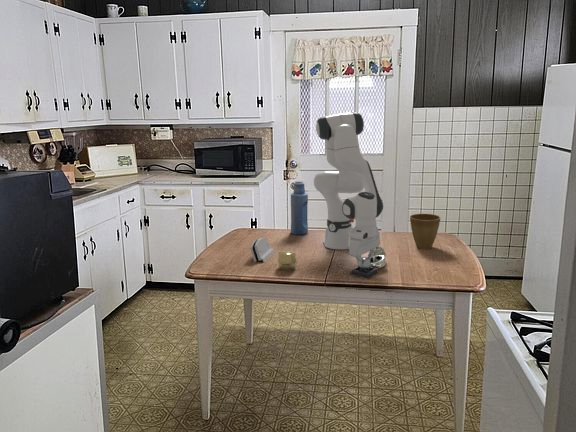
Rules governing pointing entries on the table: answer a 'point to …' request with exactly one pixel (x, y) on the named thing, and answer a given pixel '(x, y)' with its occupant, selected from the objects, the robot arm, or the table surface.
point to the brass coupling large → (287, 260)
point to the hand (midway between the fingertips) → (365, 261)
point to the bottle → (299, 209)
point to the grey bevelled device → (261, 249)
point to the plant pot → (424, 229)
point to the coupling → (365, 265)
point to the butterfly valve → (378, 258)
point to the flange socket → (364, 273)
